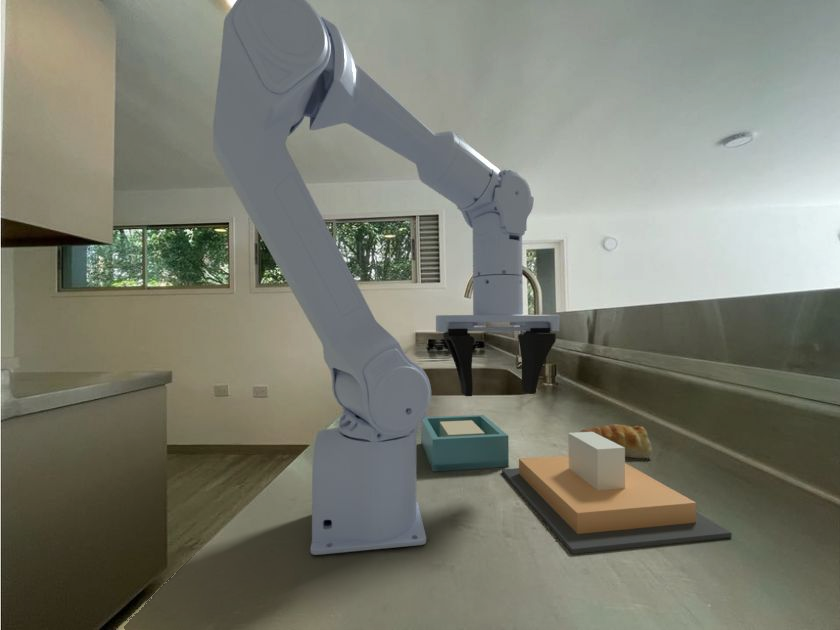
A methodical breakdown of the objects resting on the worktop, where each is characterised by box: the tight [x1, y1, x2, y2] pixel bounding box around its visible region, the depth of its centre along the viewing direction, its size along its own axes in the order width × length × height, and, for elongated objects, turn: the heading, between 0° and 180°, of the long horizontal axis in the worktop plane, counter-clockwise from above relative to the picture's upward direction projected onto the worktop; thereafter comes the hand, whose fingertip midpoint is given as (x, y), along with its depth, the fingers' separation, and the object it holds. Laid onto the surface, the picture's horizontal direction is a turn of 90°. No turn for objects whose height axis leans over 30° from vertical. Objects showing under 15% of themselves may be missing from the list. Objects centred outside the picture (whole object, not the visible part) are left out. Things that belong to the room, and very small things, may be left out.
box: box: [420, 414, 510, 473], centre depth 48 cm, size 10×10×4 cm
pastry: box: [579, 423, 653, 459], centre depth 51 cm, size 9×7×4 cm
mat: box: [501, 467, 733, 555], centre depth 36 cm, size 15×15×1 cm
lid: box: [518, 431, 697, 534], centre depth 36 cm, size 12×12×6 cm
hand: (498, 393), depth 40 cm, fingers open, 7 cm apart
